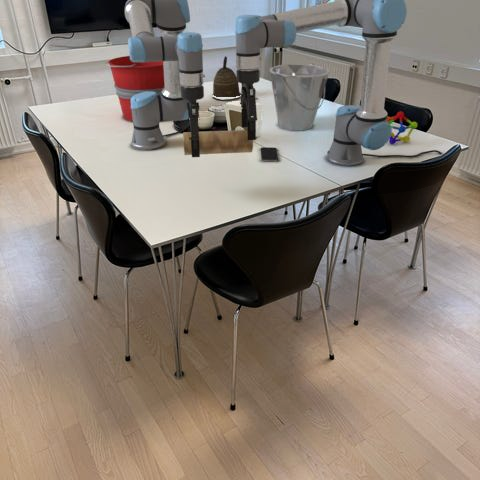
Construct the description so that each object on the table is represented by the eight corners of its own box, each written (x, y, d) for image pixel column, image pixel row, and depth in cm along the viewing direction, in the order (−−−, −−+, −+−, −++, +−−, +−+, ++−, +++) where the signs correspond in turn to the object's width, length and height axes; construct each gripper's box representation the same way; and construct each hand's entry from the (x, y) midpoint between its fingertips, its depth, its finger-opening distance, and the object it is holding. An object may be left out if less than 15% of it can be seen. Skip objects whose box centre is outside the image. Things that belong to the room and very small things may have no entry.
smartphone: (261, 159, 190) (260, 147, 203) (261, 161, 190) (260, 148, 203) (278, 159, 190) (276, 147, 202) (278, 161, 190) (276, 148, 203)
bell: (227, 105, 294) (202, 96, 282) (238, 66, 289) (213, 55, 277) (243, 108, 280) (217, 98, 268) (255, 66, 275) (229, 55, 263)
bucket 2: (296, 138, 215) (301, 78, 201) (255, 124, 234) (256, 68, 219) (335, 125, 232) (342, 70, 217) (294, 113, 251) (297, 61, 236)
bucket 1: (122, 106, 262) (115, 52, 246) (181, 107, 261) (178, 52, 245) (105, 124, 232) (96, 64, 216) (172, 125, 231) (167, 64, 216)
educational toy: (377, 146, 209) (379, 114, 202) (384, 138, 219) (386, 107, 211) (411, 149, 202) (415, 116, 195) (417, 141, 212) (420, 109, 204)
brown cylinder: (184, 158, 152) (183, 136, 148) (184, 150, 158) (182, 129, 154) (252, 155, 155) (253, 133, 150) (249, 147, 161) (249, 126, 157)
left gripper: (205, 93, 135) (208, 163, 147) (201, 78, 152) (204, 141, 164) (180, 93, 134) (185, 164, 146) (179, 78, 151) (183, 142, 164)
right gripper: (266, 76, 132) (265, 144, 144) (253, 61, 153) (253, 121, 165) (242, 78, 132) (243, 146, 143) (231, 62, 152) (233, 122, 164)
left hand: (195, 152), depth 155 cm, fingers closed on brown cylinder, 8 cm apart
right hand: (248, 133), depth 154 cm, fingers open, 13 cm apart
